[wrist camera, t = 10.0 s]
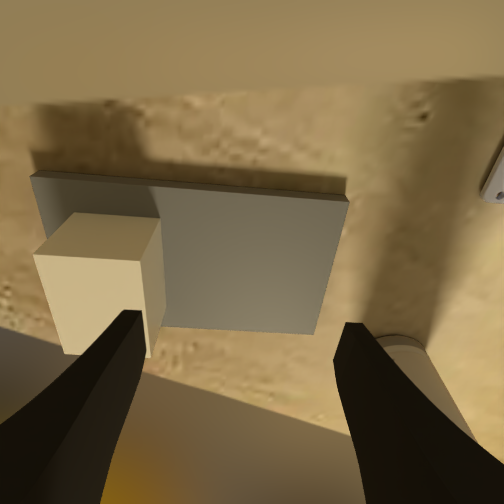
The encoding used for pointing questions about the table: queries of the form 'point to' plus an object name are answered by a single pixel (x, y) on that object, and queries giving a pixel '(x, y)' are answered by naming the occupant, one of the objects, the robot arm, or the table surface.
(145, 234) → the cream rectangular block
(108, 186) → the board
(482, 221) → the table surface
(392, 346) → the travel mug
